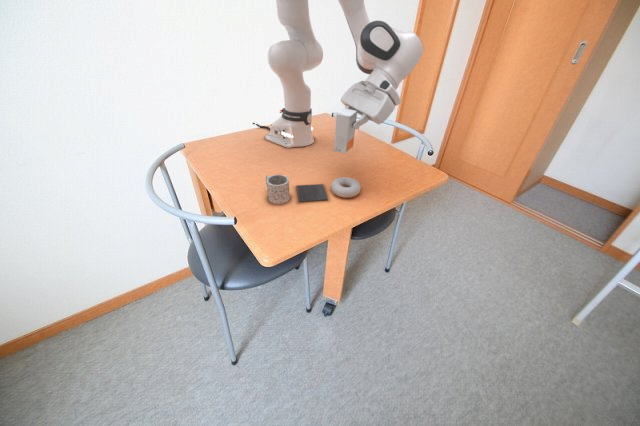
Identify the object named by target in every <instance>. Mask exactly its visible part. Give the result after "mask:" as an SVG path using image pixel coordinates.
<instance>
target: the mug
mask: <svg viewBox="0 0 640 426" xmlns="http://www.w3.org/2000/svg"><path fill="white" fill-rule="evenodd" d="M265 185H266V187H267V195H268V197H267V198H268V201H269V202H270V203H272V204H274V205H282V204H285V203H288V202H289V200H290V199H291V197H290V179H289V177H288V176H286V175H284V174H273V175H266V176H265Z"/></svg>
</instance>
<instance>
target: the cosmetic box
mask: <svg viewBox="0 0 640 426" xmlns="http://www.w3.org/2000/svg"><path fill="white" fill-rule="evenodd" d="M357 117H358V113H357V111H355V110H350V109H345V108H344V109H342V110H340V111H339V112H338V113H336V120H335V132H334V145H333V152H336V153H340V154H343V155H346V154H347V153H348V152H349V151H351V150H352V149H353V148H354V141H355V133H356V129H355V128H353V127H352V123H353V122H354V121H357Z"/></svg>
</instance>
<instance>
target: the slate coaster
mask: <svg viewBox="0 0 640 426" xmlns="http://www.w3.org/2000/svg"><path fill="white" fill-rule="evenodd" d="M296 192H297V197H298V202H299V203H307V202H321V201H323V202H324V201H328V197H327V193H326V190H325V187H324V184H323V183H321V184H303V185H301V184H300V185H296Z"/></svg>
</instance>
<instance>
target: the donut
mask: <svg viewBox="0 0 640 426" xmlns="http://www.w3.org/2000/svg"><path fill="white" fill-rule="evenodd" d="M330 190H331V192H332V193H333V194H334V195H336V196H338V197H340V198H345V199H347V198H353V197H356V196H358V195H359V194H360V192H361V190H362V186H361V183H360V182H359V181H358V180H357V179H355V178H353V177H348V176H341V177H340V176H339V177H337V178H335V179H334V180H333V181H331V183H330Z"/></svg>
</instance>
